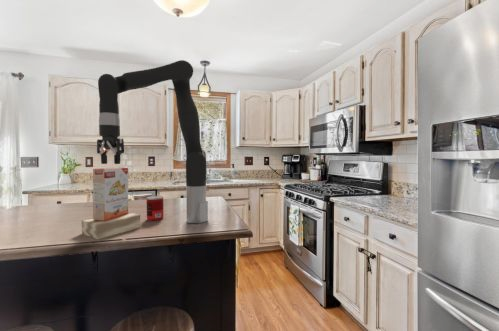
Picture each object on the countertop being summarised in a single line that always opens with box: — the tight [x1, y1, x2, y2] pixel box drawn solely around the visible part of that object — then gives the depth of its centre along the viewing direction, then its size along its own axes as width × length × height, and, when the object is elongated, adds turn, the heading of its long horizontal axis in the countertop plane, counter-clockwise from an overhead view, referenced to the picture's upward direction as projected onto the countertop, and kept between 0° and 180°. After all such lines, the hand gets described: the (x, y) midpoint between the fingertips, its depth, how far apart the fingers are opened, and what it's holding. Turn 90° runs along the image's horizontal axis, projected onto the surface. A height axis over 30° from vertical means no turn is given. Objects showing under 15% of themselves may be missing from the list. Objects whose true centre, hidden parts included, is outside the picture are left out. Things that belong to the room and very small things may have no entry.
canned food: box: [146, 195, 164, 222], centre depth 124 cm, size 8×8×11 cm
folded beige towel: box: [81, 212, 141, 240], centre depth 105 cm, size 12×18×6 cm, turn 148°
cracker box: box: [92, 167, 129, 221], centre depth 105 cm, size 14×6×21 cm, turn 168°
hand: (110, 163), depth 104 cm, fingers open, 8 cm apart
